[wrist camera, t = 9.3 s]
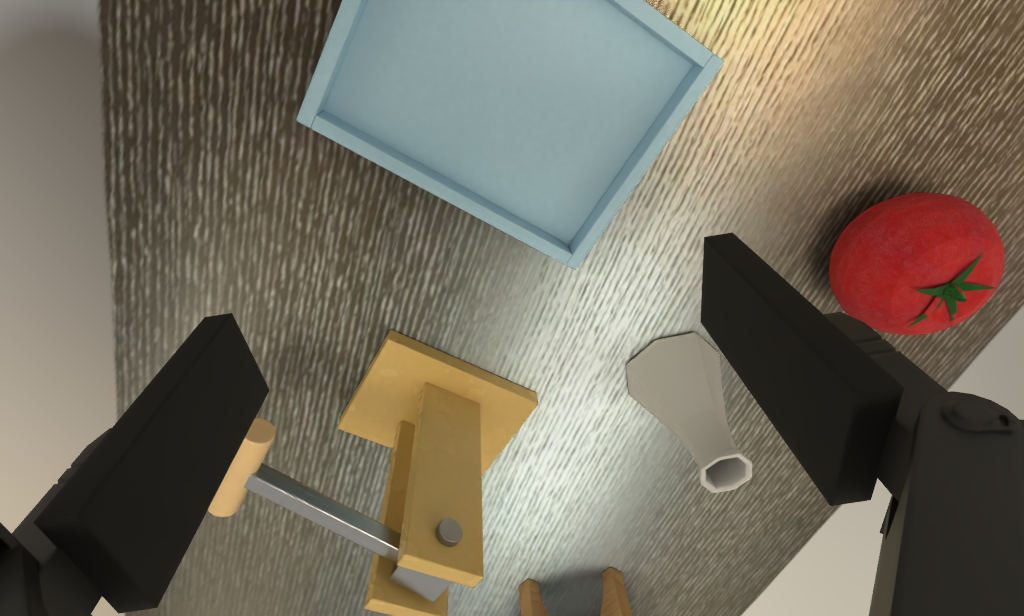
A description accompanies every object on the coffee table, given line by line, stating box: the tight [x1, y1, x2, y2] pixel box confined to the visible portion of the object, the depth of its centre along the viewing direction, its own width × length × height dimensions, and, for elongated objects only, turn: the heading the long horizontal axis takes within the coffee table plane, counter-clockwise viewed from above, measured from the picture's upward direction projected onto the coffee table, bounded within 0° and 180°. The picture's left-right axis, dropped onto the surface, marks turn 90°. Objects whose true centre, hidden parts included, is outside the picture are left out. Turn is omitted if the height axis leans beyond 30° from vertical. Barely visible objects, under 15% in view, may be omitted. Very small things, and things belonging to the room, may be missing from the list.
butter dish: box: [296, 0, 724, 270], centre depth 28 cm, size 18×14×2 cm
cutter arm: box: [208, 418, 452, 602], centre depth 28 cm, size 13×6×2 cm, turn 59°
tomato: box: [829, 192, 1005, 335], centre depth 32 cm, size 9×9×8 cm
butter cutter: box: [338, 330, 538, 616], centre depth 34 cm, size 12×9×15 cm
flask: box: [626, 333, 752, 493], centre depth 36 cm, size 7×7×10 cm
